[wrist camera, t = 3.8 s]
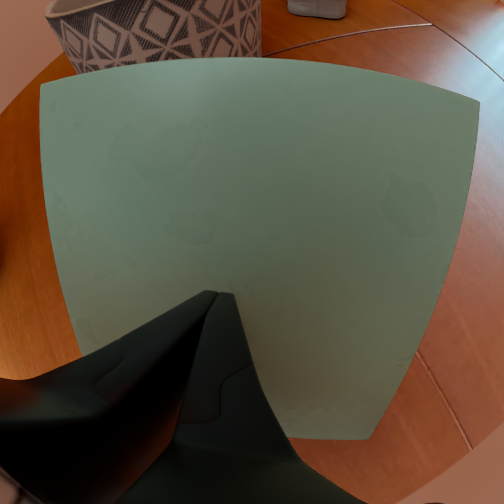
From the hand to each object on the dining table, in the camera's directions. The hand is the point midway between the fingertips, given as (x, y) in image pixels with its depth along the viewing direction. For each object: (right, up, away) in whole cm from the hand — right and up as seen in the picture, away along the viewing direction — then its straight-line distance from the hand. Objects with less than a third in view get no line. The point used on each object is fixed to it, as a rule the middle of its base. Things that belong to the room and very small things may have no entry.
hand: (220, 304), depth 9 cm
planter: (-7, +20, +23) cm, 31 cm away
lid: (0, 0, +2) cm, 2 cm away
